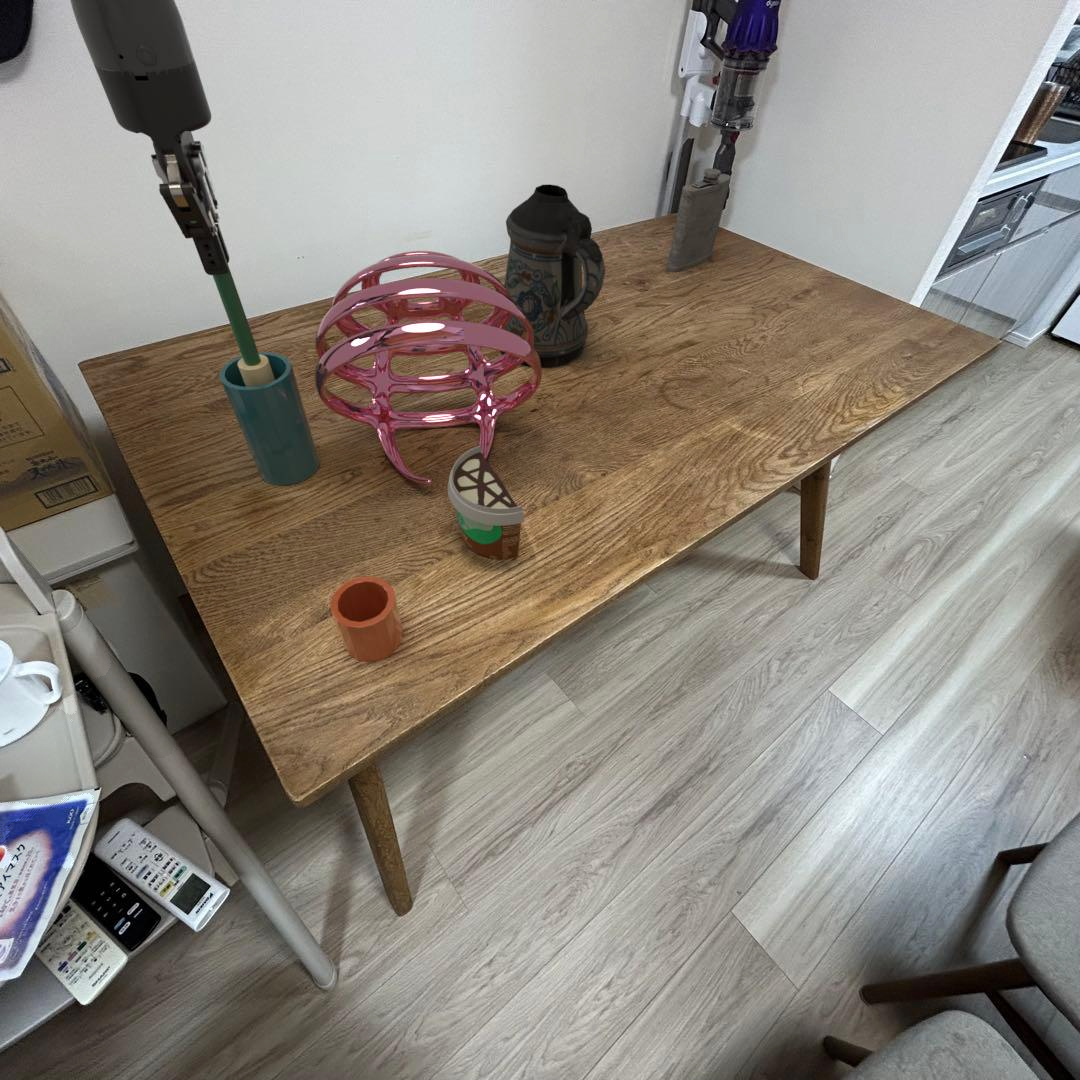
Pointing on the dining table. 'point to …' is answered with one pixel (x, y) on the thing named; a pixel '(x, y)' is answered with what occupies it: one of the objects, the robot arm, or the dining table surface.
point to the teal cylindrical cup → (273, 422)
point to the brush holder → (367, 618)
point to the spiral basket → (424, 348)
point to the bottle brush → (243, 334)
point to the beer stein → (552, 273)
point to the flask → (698, 220)
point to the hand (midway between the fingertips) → (218, 267)
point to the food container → (484, 508)
